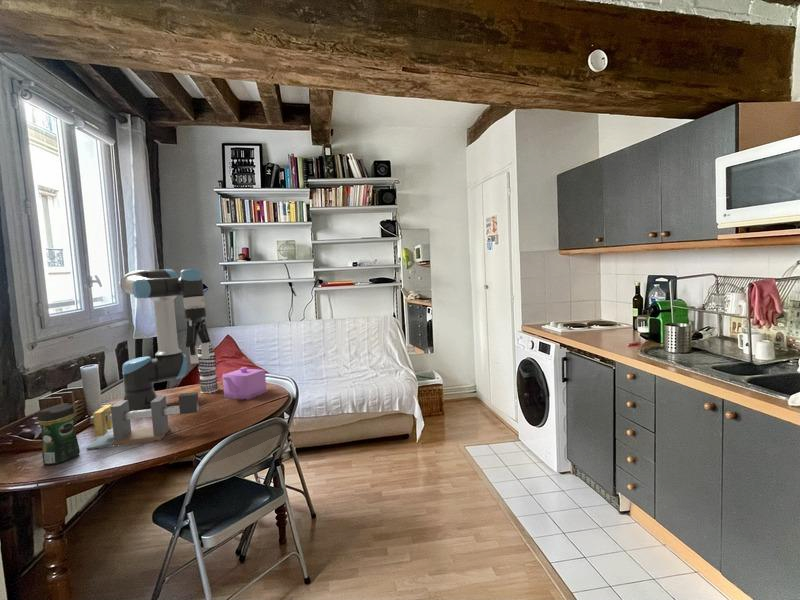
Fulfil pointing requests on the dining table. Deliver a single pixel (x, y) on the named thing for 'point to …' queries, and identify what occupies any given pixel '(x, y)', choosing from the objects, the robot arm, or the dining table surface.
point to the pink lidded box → (244, 383)
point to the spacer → (102, 420)
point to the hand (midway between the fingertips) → (200, 361)
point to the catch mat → (102, 442)
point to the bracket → (129, 436)
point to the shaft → (164, 408)
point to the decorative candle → (207, 371)
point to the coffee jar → (58, 433)
